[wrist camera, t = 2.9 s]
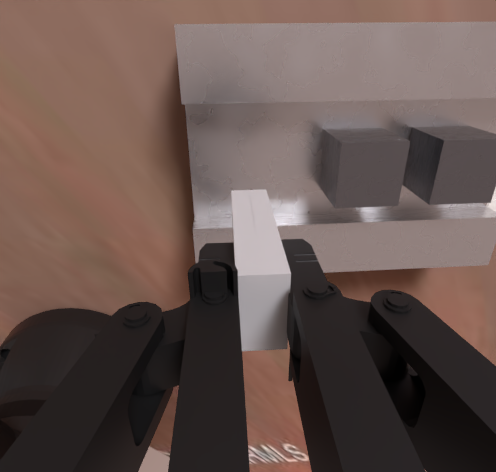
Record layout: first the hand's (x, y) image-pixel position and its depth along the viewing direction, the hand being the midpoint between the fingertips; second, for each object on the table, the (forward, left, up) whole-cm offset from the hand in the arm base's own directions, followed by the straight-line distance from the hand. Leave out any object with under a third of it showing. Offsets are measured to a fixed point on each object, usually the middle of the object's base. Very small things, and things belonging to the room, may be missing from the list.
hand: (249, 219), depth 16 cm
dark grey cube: (0, -14, -10) cm, 17 cm away
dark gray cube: (0, -8, -10) cm, 12 cm away
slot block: (0, -8, -14) cm, 16 cm away
